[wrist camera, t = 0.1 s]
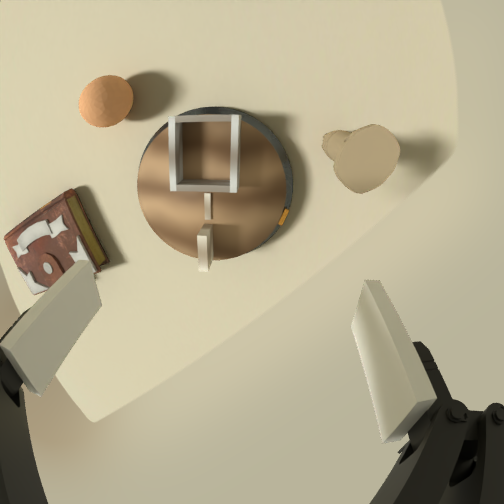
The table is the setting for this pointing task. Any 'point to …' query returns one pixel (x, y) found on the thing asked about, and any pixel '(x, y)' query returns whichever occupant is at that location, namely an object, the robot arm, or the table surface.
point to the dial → (211, 186)
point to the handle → (362, 156)
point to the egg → (106, 101)
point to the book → (54, 242)
